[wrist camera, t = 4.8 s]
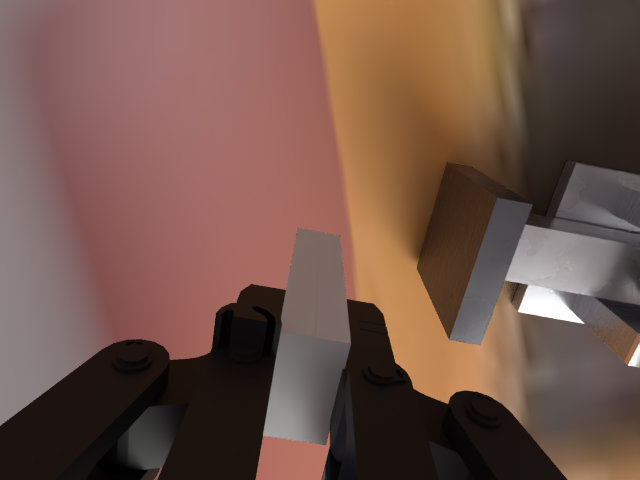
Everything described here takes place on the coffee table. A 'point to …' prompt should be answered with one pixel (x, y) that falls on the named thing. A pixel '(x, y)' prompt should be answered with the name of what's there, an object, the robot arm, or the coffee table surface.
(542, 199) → the coffee table surface
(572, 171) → the gauge body
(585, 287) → the plunger
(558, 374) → the coffee table surface
